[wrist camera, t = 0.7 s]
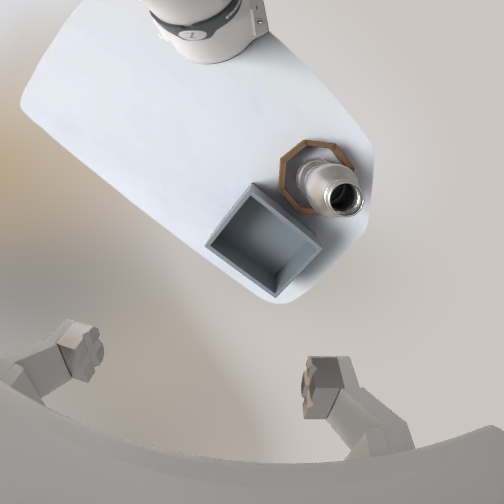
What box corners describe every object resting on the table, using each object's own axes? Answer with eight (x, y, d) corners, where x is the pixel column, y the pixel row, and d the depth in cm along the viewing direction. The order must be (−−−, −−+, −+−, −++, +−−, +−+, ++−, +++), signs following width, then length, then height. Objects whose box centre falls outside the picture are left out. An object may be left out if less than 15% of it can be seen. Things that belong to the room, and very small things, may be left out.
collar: (281, 138, 42) (282, 137, 40) (351, 146, 42) (356, 147, 39) (276, 207, 47) (277, 211, 44) (343, 213, 46) (347, 218, 44)
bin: (212, 232, 49) (204, 246, 42) (252, 182, 45) (249, 189, 39) (274, 278, 52) (275, 298, 45) (315, 234, 48) (322, 249, 42)
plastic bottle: (332, 196, 45) (374, 232, 27) (293, 194, 46) (311, 230, 27) (334, 158, 43) (381, 170, 24) (294, 155, 43) (314, 164, 25)
